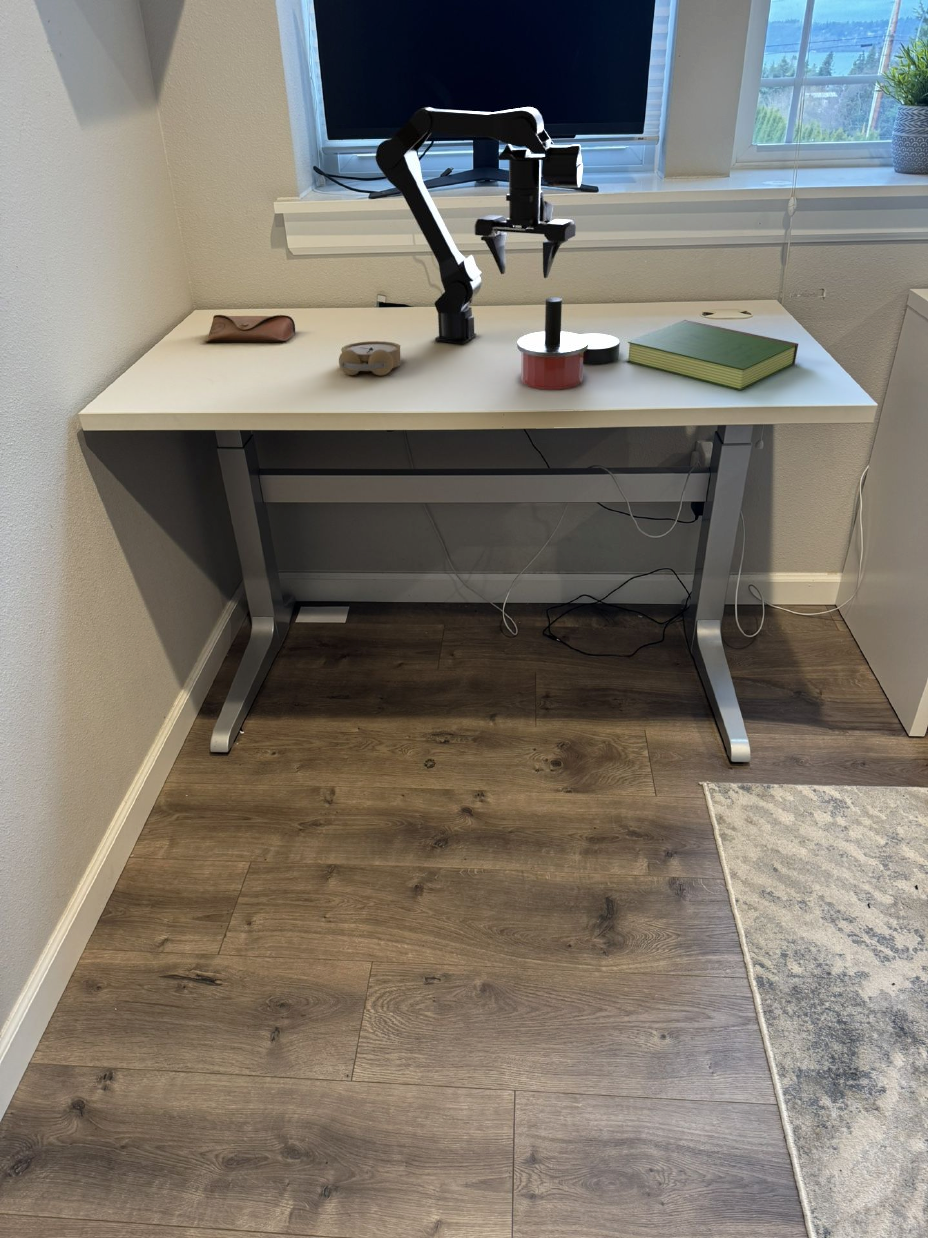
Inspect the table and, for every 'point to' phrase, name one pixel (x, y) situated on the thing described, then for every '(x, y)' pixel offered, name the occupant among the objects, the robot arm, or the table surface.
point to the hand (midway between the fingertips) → (524, 275)
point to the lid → (552, 336)
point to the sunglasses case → (251, 329)
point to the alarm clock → (370, 357)
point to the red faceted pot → (552, 371)
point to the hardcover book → (712, 354)
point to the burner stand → (601, 349)
